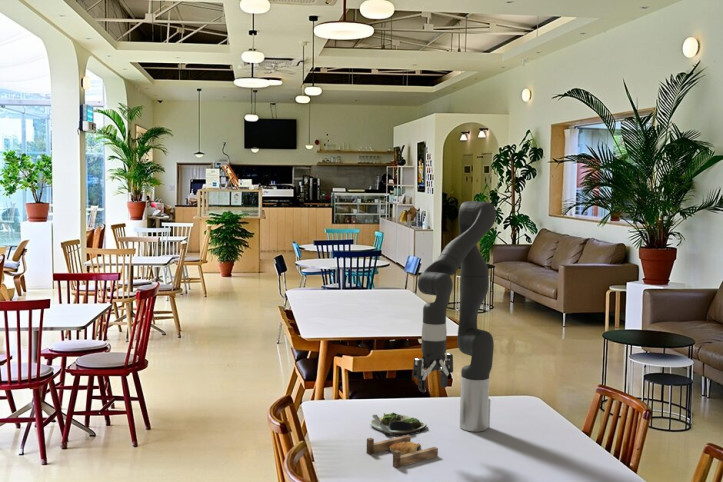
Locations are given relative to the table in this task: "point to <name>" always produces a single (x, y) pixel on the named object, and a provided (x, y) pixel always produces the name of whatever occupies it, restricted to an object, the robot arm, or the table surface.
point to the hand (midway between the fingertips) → (432, 389)
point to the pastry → (405, 447)
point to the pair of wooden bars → (398, 459)
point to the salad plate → (397, 424)
